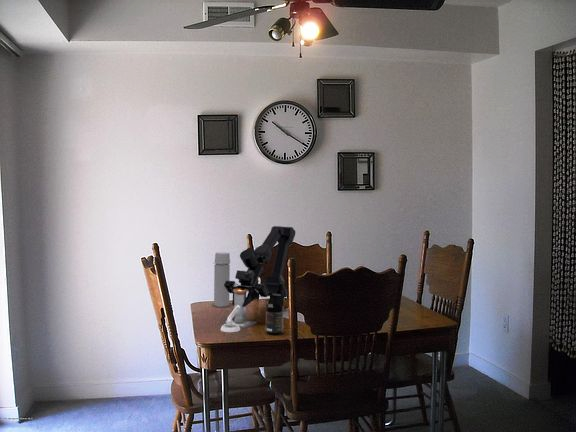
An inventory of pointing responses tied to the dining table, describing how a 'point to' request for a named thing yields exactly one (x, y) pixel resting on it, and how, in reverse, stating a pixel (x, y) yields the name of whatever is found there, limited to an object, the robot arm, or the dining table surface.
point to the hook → (231, 322)
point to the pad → (243, 324)
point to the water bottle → (221, 279)
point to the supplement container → (274, 319)
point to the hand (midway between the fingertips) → (238, 305)
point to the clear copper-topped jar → (240, 304)
